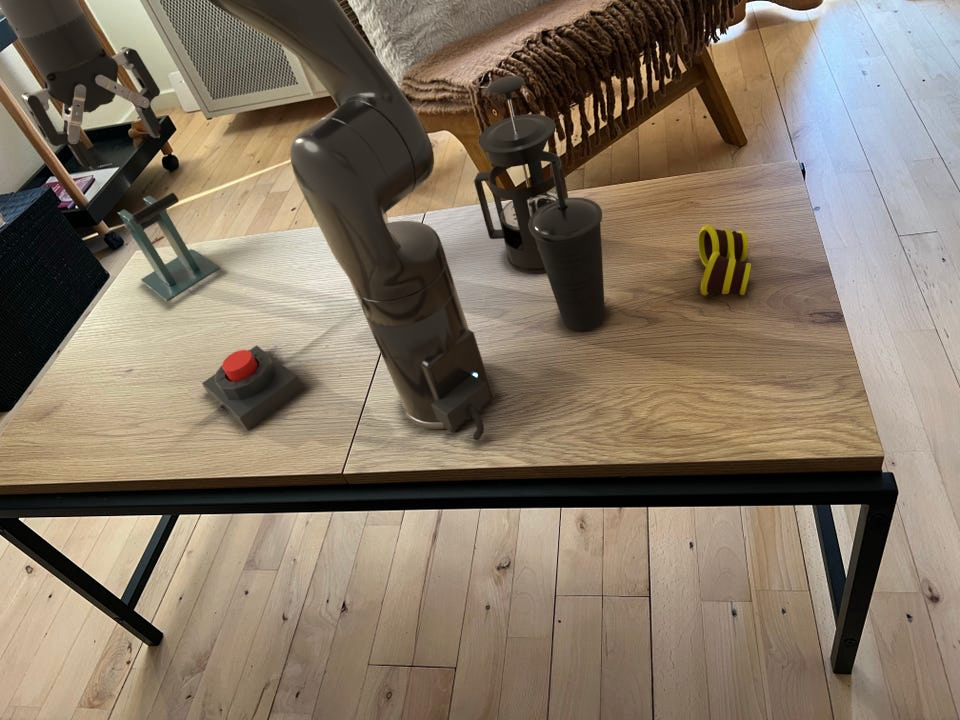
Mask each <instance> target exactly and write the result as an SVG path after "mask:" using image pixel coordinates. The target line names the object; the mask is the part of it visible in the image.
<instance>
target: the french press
mask: <svg viewBox="0 0 960 720" xmlns="http://www.w3.org/2000/svg"><path fill="white" fill-rule="evenodd" d="M524 84H525V79H524V77H522V76H519V75H507V76H502V77H500V78H498V79H494V81H492V82H490V83H489V84H488V86H487V89H486V91H487V92H488V93H489V94H492V95H503V98H504V100H505V101H507V103H508V108H509V113H510V117H507V118H504V119H501V120H499V121H497V122H495V123H492V124H491V125H490V126H488V127H487V128H486V129H484V131H482V133H481V134H480V136H479V138H478V144H479V147H480V149H481V150H483V152H485V157H486V160H487V161H488V162H489V163H490V164H491V165H493V166H492V168H491V169H490V171H480V172H477V173H476V176H475V178H474V180H473V181H474V187H475V190H476V194H477V199H478V201H479V205H480V210H481V212H482V216H483V219H484V224H485V226H486V227H485V228H486V230H487V235H488V237H489V239H490V240H502V239H503V241H504V246H505V250H506V259H507V262H508V265H509V266H510V267H511V268H512V269H514V270H516V271H518V272H520V273H524V274H531V275H532V274H534V275H535V274H544V273H546V270H545V267H544V264H543V261H542V258H541V255H540V252H539V249H538V246H537V243H536V240H535V237H534V236H533V235H532V234H531V233H530V230H529V226H528V224H529V220H530V217H531V216H532V214H533V213H534V212H535V211H536V210H538V209H539V208H540V207H542V206H544V205H545V204H548V203H550V202H552V201H555V200H558V198H557V193H556V191H551V190H553V189H555V182H554V177H553V175H552V176H551V177H549V178H548V179H545V175H544V169H543V164H542V162H547V163H551V162H552V161H557V162H558V167H559V172H560V177H561V183H562V188H563V193H564V198H569V193H568V187H567V182H566V178H565V173H564V167H563V162H562V159H561V158H560V155H557V154H556V153H554V152H551V151H547V150H545V148H546V145H547V143H548V140H549V139H550V138H551V137H552V136H553V134H554V133H555V131H556V124H555V121H554V120H553V119H552V118H551V117H549V116H547V115H545V114H539V113H525V114H517V115H515V113H514V109H513V103H512V99H513V98H514V97H513V92H514V91H516V90H518V89H520V88H521V87H522V86H523V85H524ZM526 165H527V167H526ZM520 166H522V170H523V175H524V180H525V184H526V187H524V188H523V187H522V188H513V189H512V188H511V189H510V188H503V187H499V186H498V184H497V178H498V177H499V175H501V174H502V173H503V172H505V171H507V170H509V169H510V168H514V167H520ZM527 168H528V172H529V177H530V179H529V177H528V172H527ZM483 182H488V183H489V187H490V191H491V193H492V196H493V200H494V204H495V209H496V212H497V217H498V220H499V224H500V227H501V228H500V229H495V226H494V224H493V220H492V216H491V212H490V208H489V204H488V200H487V197H486V193H485V188H484V186H483ZM530 182H531V186H530ZM501 199H504V200H510V201H509V202H508V203H507V204H506V205H505V206H504V207H503V203H502V200H501ZM521 246H523V249H519V248H520V247H521Z"/></svg>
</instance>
